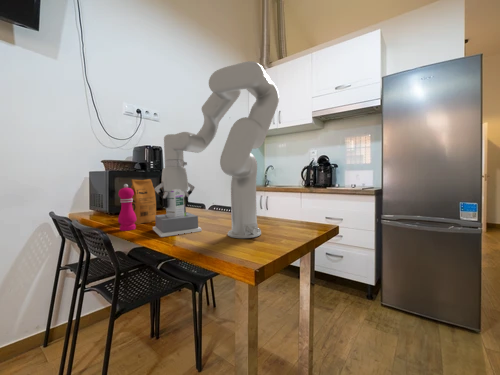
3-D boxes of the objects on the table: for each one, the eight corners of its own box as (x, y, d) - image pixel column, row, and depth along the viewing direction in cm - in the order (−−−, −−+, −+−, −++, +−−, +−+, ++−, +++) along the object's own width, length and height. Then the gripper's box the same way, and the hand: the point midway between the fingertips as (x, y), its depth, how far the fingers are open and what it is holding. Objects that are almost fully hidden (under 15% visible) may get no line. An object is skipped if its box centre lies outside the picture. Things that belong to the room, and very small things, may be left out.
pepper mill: (140, 227, 107) (138, 183, 106) (130, 231, 100) (128, 184, 99) (125, 227, 108) (123, 183, 107) (114, 231, 101) (112, 184, 100)
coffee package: (125, 223, 119) (123, 179, 118) (148, 219, 129) (146, 179, 128) (135, 225, 113) (133, 179, 112) (159, 220, 123) (157, 178, 122)
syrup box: (175, 224, 95) (174, 189, 95) (166, 223, 98) (165, 189, 98) (186, 222, 100) (185, 188, 100) (176, 221, 103) (175, 188, 103)
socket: (201, 231, 97) (201, 216, 97) (160, 237, 88) (160, 220, 88) (189, 224, 110) (188, 211, 110) (152, 229, 102) (152, 215, 102)
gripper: (191, 165, 106) (193, 204, 107) (150, 165, 97) (152, 207, 97) (197, 164, 100) (198, 206, 100) (153, 164, 90) (155, 209, 91)
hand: (175, 206), depth 99 cm, fingers closed on syrup box, 7 cm apart
